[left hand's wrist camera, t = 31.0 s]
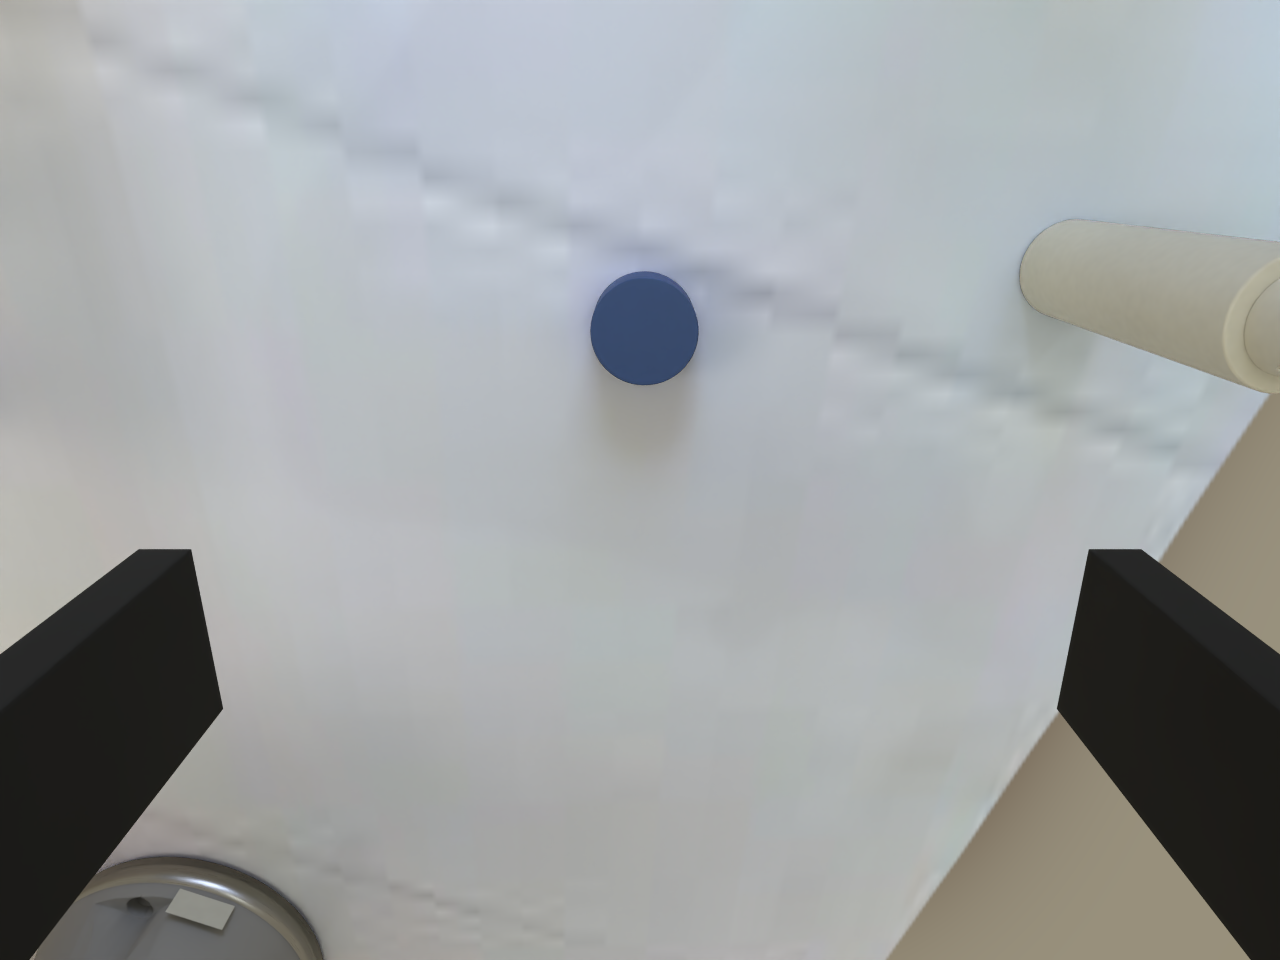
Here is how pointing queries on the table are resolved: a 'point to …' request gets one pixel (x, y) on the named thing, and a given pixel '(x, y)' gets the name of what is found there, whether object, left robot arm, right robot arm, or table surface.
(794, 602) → the table surface
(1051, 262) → the jar
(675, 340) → the lid
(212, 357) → the table surface
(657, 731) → the table surface
